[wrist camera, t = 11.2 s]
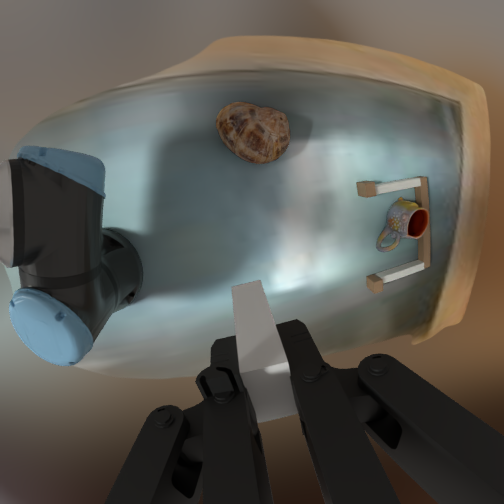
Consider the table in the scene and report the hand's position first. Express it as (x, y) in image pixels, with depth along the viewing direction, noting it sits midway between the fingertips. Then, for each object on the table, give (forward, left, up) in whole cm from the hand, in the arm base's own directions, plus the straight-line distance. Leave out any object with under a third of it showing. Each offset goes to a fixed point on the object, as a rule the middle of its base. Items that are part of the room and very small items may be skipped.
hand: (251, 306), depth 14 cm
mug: (+29, -9, -33) cm, 45 cm away
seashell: (+6, +12, -33) cm, 35 cm away
